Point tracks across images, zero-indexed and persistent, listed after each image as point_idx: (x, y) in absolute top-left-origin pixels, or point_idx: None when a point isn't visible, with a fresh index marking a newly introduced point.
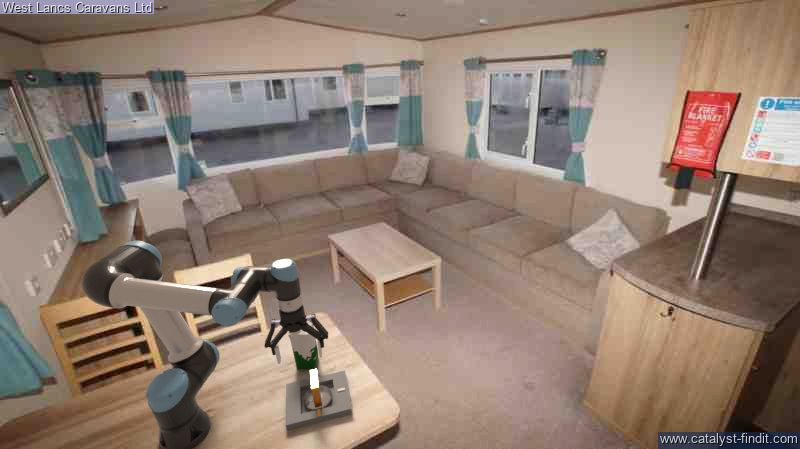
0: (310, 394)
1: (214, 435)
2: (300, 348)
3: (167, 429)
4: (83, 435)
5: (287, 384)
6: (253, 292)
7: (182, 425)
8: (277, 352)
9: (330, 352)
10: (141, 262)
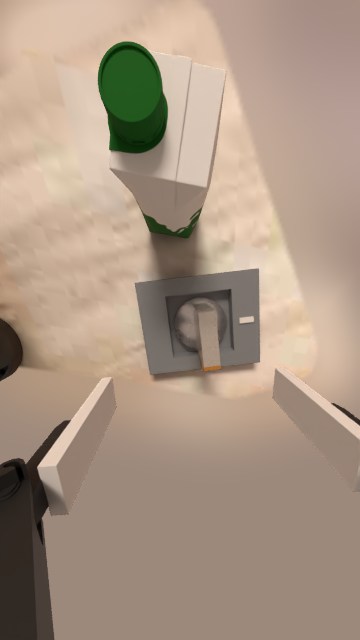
0: (186, 317)
1: (36, 358)
2: (163, 216)
3: None
4: None
5: (137, 284)
6: None
7: None
8: (85, 471)
9: (224, 186)
10: None
